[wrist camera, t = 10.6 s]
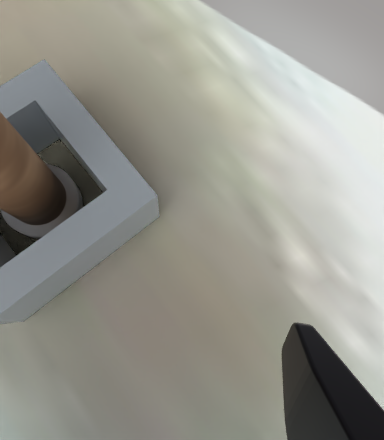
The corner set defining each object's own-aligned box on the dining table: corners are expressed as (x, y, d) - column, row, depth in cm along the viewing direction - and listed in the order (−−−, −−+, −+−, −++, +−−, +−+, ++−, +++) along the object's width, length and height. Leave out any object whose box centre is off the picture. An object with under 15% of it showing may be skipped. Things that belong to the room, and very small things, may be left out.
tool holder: (23, 321, 21) (-16, 325, 16) (-69, 192, 22) (-128, 163, 18) (159, 216, 23) (157, 195, 18) (66, 103, 24) (44, 59, 20)
